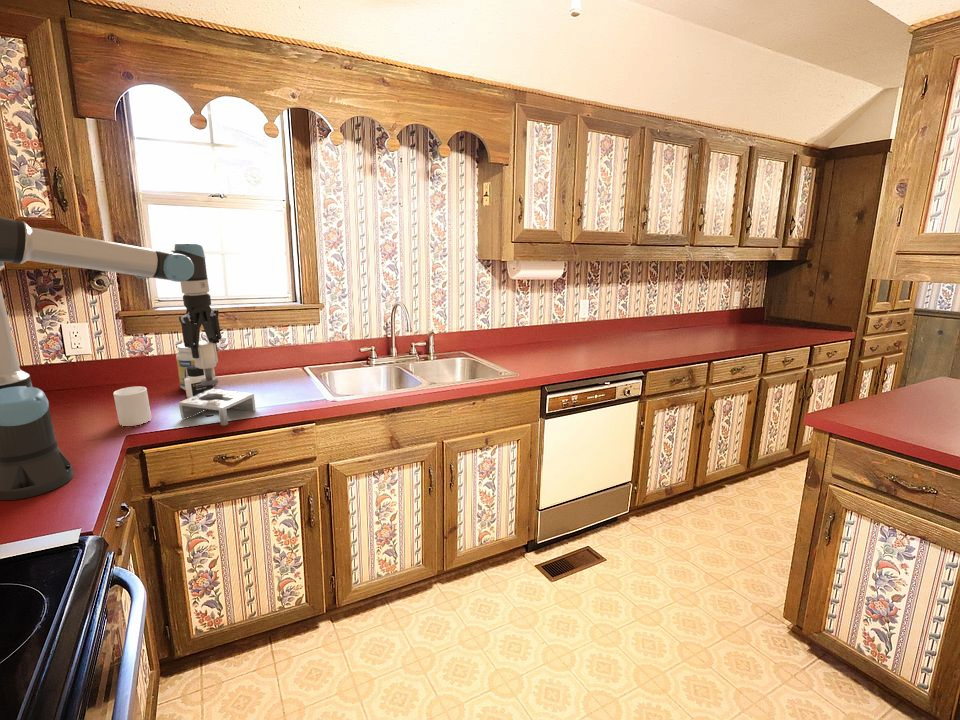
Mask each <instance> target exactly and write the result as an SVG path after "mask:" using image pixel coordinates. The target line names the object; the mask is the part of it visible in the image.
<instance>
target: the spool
mask: <svg viewBox="0 0 960 720" xmlns="http://www.w3.org/2000/svg"><path fill="white" fill-rule="evenodd" d="M202 342H203V343H199V347H198V348H201V350H202V356H203V363H204V368H200V369H204V371H205V377H206V378H204V379H202V380H201V385H205V386H207V385H214V384H215V385H216V384H218V383H219V378H218V377H216V376H215V377H212V371H211V368H213V367H214V368H215V367H217V363H216V360H215V353H214V346H213V343H212V342H209V341H202ZM215 385H214V386H215Z"/></svg>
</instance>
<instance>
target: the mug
mask: <svg viewBox="0 0 960 720" xmlns="http://www.w3.org/2000/svg"><path fill="white" fill-rule="evenodd" d="M112 394H113V398H114V403H115V404H114V405H115V409H116V414H117V419H118V423H119V425H120V426H121V425H122V426H121V427H123V426H133V425H139V424H143V423H146V422H148V421H150V422H151V420H152V412H151V408H150V407H151V406H150V400H149V394H148V389H147V387H145V386H127V387H124V388H120V389H117V390H115V391H113V393H112ZM148 423H149V422H148ZM146 424H147V423H146Z"/></svg>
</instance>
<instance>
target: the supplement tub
mask: <svg viewBox="0 0 960 720" xmlns="http://www.w3.org/2000/svg"><path fill="white" fill-rule="evenodd" d="M203 342H204V341H199V343H203ZM176 350H177V353H176V355H175V358H176V359H175V360H176V364H177V373H178V379H179V384H180V385H179V386H180V389H183V391H186V388H185V382H184V379H185V378H188V374H187V367H189V366H191V365H195V361H194V358H193V357H192V351H191V348H188V347H185V346H184V342H183V343H180V344H177V349H176ZM211 371H212V377H216V373H215V367H213V368H211ZM214 386H216V384H214V385H213V387H214Z"/></svg>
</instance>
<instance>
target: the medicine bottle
mask: <svg viewBox="0 0 960 720" xmlns="http://www.w3.org/2000/svg"><path fill="white" fill-rule="evenodd" d="M187 374H188V378H185V379H184V382H185V388H186V390H185V393H186V397H187V399H188V398H190V397H193V396H195V395H198V394H200V393H203V392H206V391H208V390H211V389H214V386H213V385H207V386H205V385H201V380H202V379H204V378H206V377H205V371H204V369H200V368H197V367H195V365H191V366H189V367H187Z"/></svg>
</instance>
